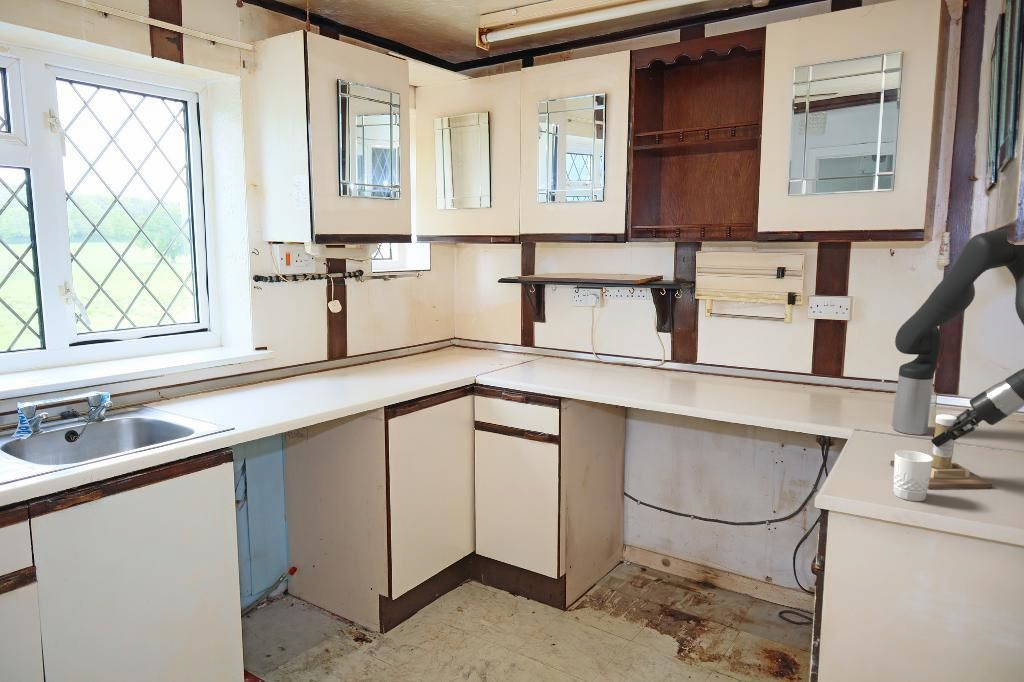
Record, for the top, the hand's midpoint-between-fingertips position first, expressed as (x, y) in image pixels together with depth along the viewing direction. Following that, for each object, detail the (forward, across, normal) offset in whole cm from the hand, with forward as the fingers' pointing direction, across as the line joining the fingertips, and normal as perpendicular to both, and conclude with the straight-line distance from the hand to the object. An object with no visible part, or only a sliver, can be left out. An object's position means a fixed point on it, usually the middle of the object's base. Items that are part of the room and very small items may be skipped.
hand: (934, 441), depth 174 cm
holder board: (+5, 0, +8) cm, 9 cm away
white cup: (+9, +18, +4) cm, 21 cm away
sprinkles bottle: (+3, 0, +6) cm, 7 cm away
